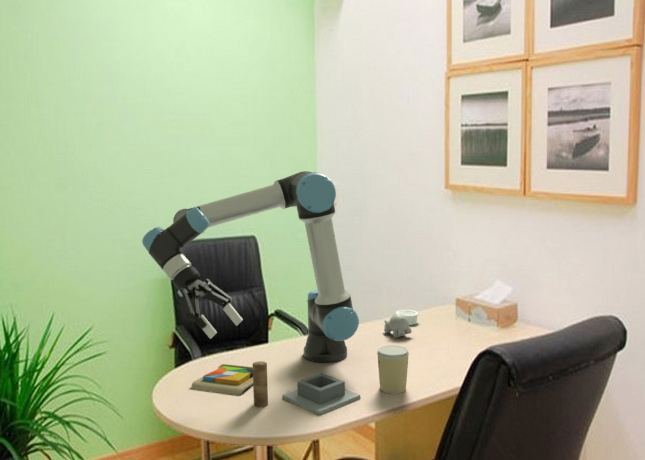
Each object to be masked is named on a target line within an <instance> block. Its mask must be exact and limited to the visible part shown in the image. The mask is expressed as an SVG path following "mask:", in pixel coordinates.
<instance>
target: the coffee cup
mask: <svg viewBox="0 0 645 460" xmlns="http://www.w3.org/2000/svg"><path fill="white" fill-rule="evenodd" d="M376 354H377V365H378V366H377V367H378V377H379V378H378V379H379V381H378V382H379V389H380V391H381V392H383V393H384V394H385V393H386V394H390V395H393V394H394V395H395V394H402V393H404V392H406V390H407V382H408V379H407V378H408V367H409V355H410V352H409V350H408V349H407V348H406V347H404V346H401V345H394V344H393V345H384V346H381V347H379V348H378V350H377V352H376Z"/></svg>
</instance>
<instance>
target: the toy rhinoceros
mask: <svg viewBox="0 0 645 460" xmlns="http://www.w3.org/2000/svg"><path fill="white" fill-rule="evenodd" d="M383 327H384V329H383V331H384V333H385V334H387V335H388V334H391V332H392V337H393V339H394V338H395V339H397V338H399V337H404V336H407V335H409V334H412V328H411V327H410V325H408V320H407V318H406V317H405V316H404V315H402V314H396V313H395V314H394V315H392V316H391V317H390V318H389V320H385V319H384V325H383Z"/></svg>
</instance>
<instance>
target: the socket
mask: <svg viewBox="0 0 645 460" xmlns="http://www.w3.org/2000/svg"><path fill="white" fill-rule="evenodd" d="M296 382H297V384H296V385H297V389H295V390H291V391H290V392H289V391H288V392H286V393H284V394H281V395H282V396H281V397H282V399H283V400H285V401H287V402H290V403H292V404H295V405H297V406H299V407H302V408H304V409H305V410H308V411H309V412H312V413H314V414H317V415H318V416H320V415H323V414H325V413H328V412H330V411H333V410H336V409H337V408H341V407H343V406H345V405H347V404H351V403H352V402H355V401H357V400H359V399H361V394H358V393H356V392H354V391H352V390H349V389H346V386H345V385H346V384H345V383H346V382H345V381H344V380H342V379H338V378H336V377H334V376H331V375H328V374H326V373H323V372H320V373H318V374H316V375H312V376H310V377H306V378H304V379H301V380H299V381H296Z"/></svg>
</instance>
